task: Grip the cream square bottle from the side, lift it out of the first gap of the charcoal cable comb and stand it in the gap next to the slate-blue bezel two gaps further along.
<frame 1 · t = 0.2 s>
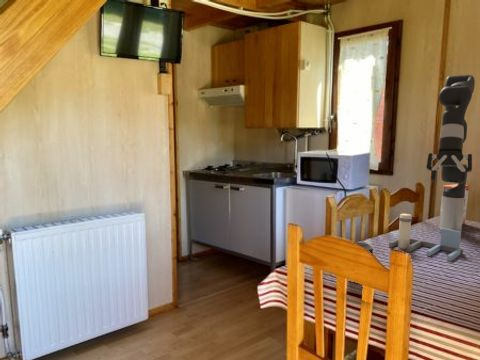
hand: (447, 182, 137), 31 cm above the table, tool tilted 20°, fingers open, 8 cm apart
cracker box: (452, 224, 203), on the table
soda can: (359, 280, 128), on the table
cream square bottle: (403, 247, 163), on the table
cable comb: (422, 251, 158), on the table
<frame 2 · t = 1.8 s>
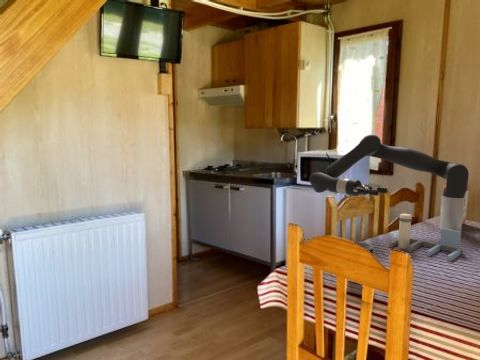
hand: (382, 192, 167), 22 cm above the table, tool horizontal, fingers open, 8 cm apart
nothing on the table moved.
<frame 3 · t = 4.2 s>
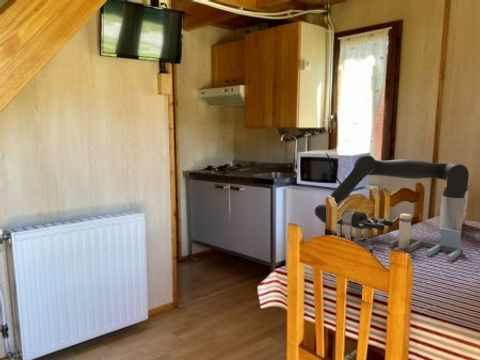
hand: (388, 226, 167), 8 cm above the table, tool horizontal, fingers open, 8 cm apart
nothing on the table moved.
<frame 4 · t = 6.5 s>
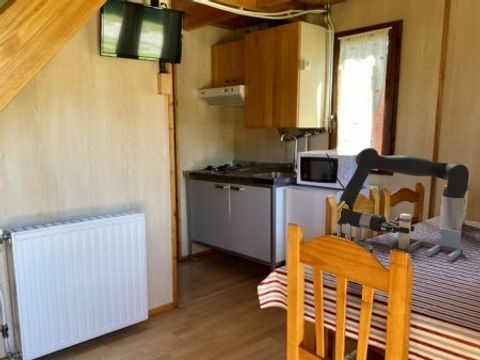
hand: (411, 230, 160), 8 cm above the table, tool horizontal, fingers closed on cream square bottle, 4 cm apart
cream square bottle: (403, 247, 163), on the table, touching gripper
everything else where it was.
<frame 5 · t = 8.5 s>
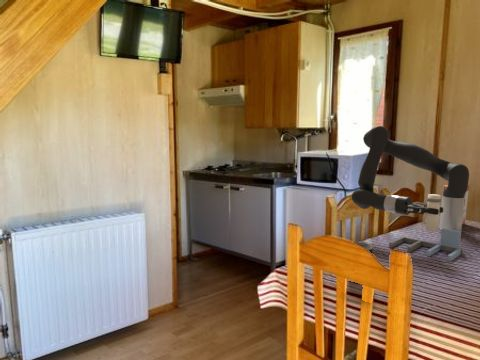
hand: (440, 211, 152), 18 cm above the table, tool horizontal, fingers closed on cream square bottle, 4 cm apart
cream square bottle: (431, 229, 155), point 10 cm above the table, touching gripper
everything else where it was.
when the fingers open (9 cm above the table, at t = 10.8 s): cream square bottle drops 1 cm, on the table.
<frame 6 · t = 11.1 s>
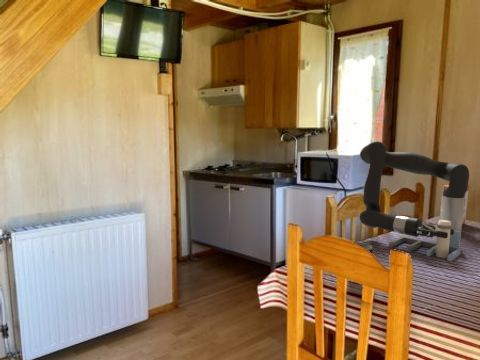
hand: (450, 233, 150), 10 cm above the table, tool horizontal, fingers open, 6 cm apart
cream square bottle: (441, 256, 153), on the table
everything else where it was.
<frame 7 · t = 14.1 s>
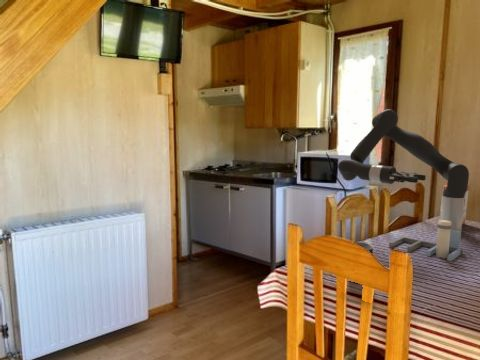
hand: (421, 179, 156), 30 cm above the table, tool horizontal, fingers open, 8 cm apart
nothing on the table moved.
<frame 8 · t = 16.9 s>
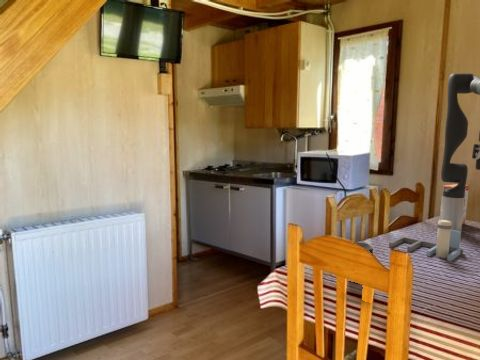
nothing on the table moved.
at the end: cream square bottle 0.2 cm from the target spot on the cable comb, point 0.0 cm above the cable comb's base; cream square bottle tilted 0°; the gripper is holding nothing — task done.
